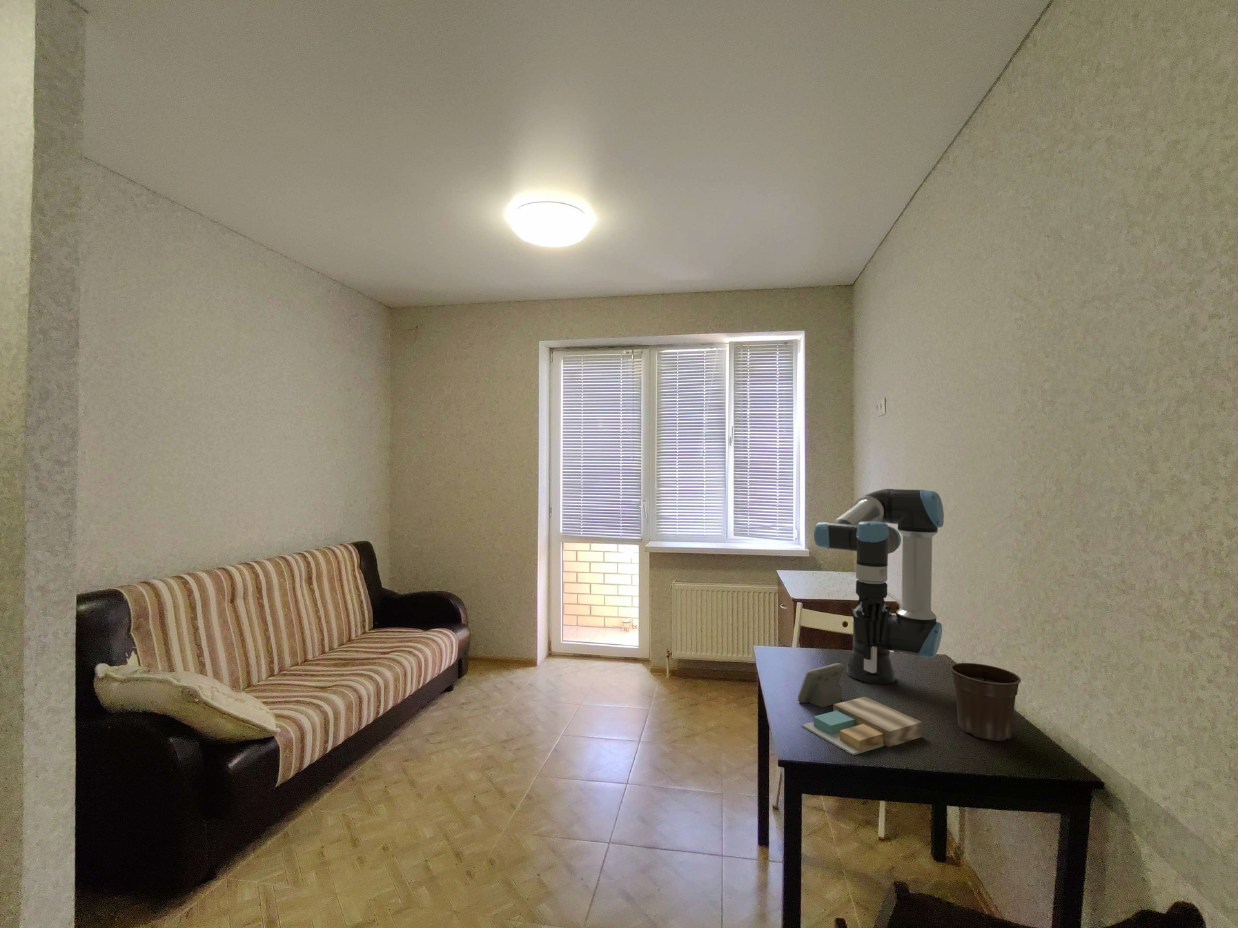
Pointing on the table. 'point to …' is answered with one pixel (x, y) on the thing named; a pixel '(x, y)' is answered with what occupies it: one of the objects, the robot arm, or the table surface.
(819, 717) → the teal tile
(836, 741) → the mat
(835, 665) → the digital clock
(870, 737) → the ochre tile
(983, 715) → the plant pot
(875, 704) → the platform
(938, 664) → the table surface
